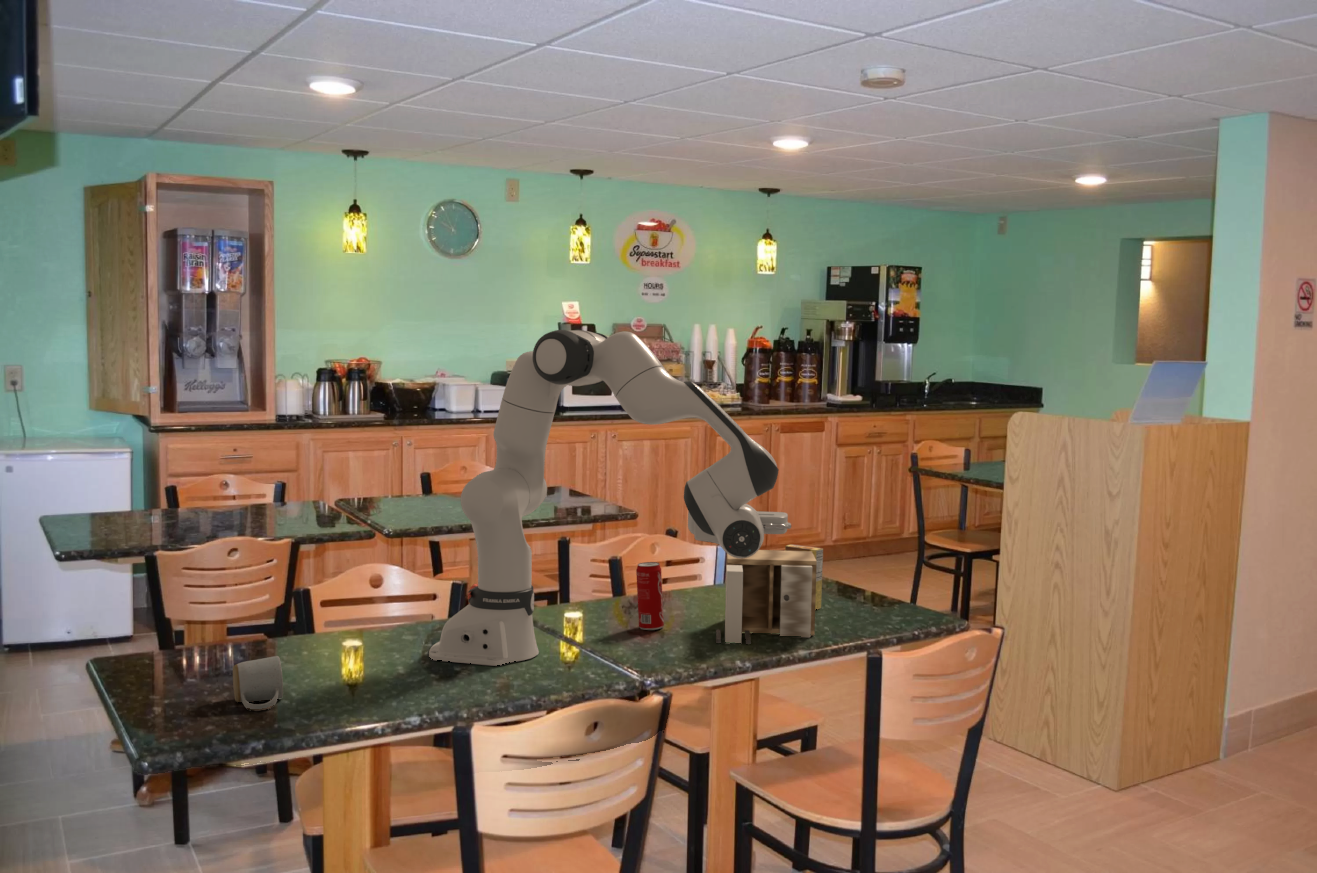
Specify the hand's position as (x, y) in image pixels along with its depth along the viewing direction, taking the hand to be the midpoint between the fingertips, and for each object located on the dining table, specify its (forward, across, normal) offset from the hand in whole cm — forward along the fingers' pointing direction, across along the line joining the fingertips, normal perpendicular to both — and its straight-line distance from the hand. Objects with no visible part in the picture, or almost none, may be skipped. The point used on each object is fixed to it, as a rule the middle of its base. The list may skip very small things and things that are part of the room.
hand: (736, 515), depth 232 cm
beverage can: (+22, +18, +30) cm, 42 cm away
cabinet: (+20, -8, +29) cm, 37 cm away
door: (+14, -1, +30) cm, 33 cm away
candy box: (+47, -19, +29) cm, 58 cm away
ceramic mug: (-38, +85, +31) cm, 98 cm away
